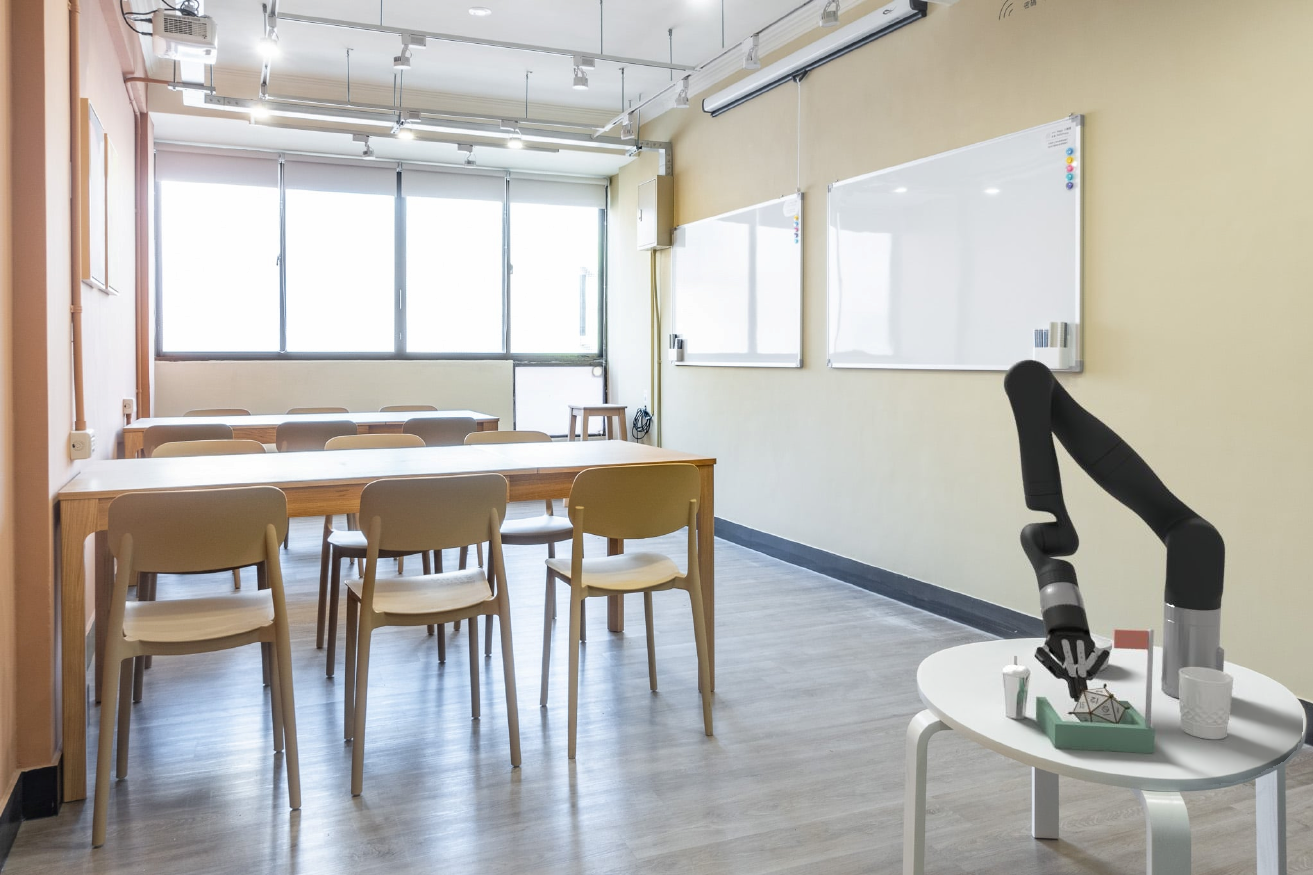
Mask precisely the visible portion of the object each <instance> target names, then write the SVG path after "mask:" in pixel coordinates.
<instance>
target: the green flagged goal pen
mask: <svg viewBox="0 0 1313 875" xmlns="http://www.w3.org/2000/svg"><path fill="white" fill-rule="evenodd" d="M1154 631H1155V630H1154V629H1152V628H1148V629H1147V630H1146V629H1145V630H1141V629H1139V630H1138V629H1115V628H1114V630H1113V649H1124V650H1125V649H1126V650H1146V651H1147V654H1146V681H1145V682H1146V683H1145V684H1146V685H1145V716H1144V717H1143V715H1142V714H1141V713H1140V712H1139V711H1137V709H1136V708H1135V707H1134V706H1133V705H1132V703H1130V702H1129V701H1128V700H1118V701H1119V702H1120V703H1121V704H1122V705H1123V706H1124V707H1126V706H1127V707H1131V708H1130V709H1128V710H1127V709H1125V711H1124V713H1123V715H1122V717H1121V719H1120V721H1119V724H1111V723H1092V722H1081V721H1072V720H1071V721H1070V720H1062V718H1061V716H1060V715H1059V714H1058V712H1057V711H1056V710H1055V709H1054V707H1053V706H1052V704H1051V702H1050V701H1049V700H1048V698H1047V697H1046V696H1036V698H1035V700H1036V701H1035V720H1036V721H1037V723H1038V725H1039V726H1040V727H1041V729H1042V730H1043V732H1044V733H1045V735H1046V737H1047V738H1048V740H1049V741H1050V743H1051V744H1052V746H1053V747H1054V748H1055V749H1070V750H1071V749H1072V750H1088V751H1102V752H1118V753H1120V752H1121V753H1138V754H1139V753H1140V754H1152V755H1153V754H1155V731H1156V730H1155V728H1154V727H1153V725H1151V724H1152V698H1153V696H1152V695H1153V694H1152V692H1153V671H1154V670H1153V665H1154V637H1155V635H1154V634H1155V633H1154Z"/></svg>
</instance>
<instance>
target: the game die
mask: <svg viewBox="0 0 1313 875" xmlns="http://www.w3.org/2000/svg"><path fill="white" fill-rule="evenodd" d="M1080 689H1081V690H1082V693H1081V695H1078V697H1079V700H1078V702H1076V704H1075V706H1074V708H1073V711H1068V712H1067V713H1066V714H1068V715H1070V716H1071V715H1074V717H1076V718H1077V719H1078V720H1079V722H1092V723H1111V724H1119V721H1120V719H1121V717H1122V715H1123V713H1124V711H1125V709H1127V710H1128V709H1130V708H1131V707H1127V706H1126V707H1124V706H1123V705H1122V704H1121V703H1120V702H1119V701H1120V700H1118V699H1117V698H1116V697H1115V696H1114V694H1113V693H1112V692H1110V691H1109V690H1108V689H1107V683H1106V682H1105V683H1104V684H1103V685H1102V687H1099V688H1098V687H1096V688H1090V689H1089V688H1088V690H1084V688H1083V687H1081V686H1080Z"/></svg>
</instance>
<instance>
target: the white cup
mask: <svg viewBox="0 0 1313 875" xmlns="http://www.w3.org/2000/svg"><path fill="white" fill-rule="evenodd" d="M1233 686H1234V676H1232V675H1231V674H1229V673H1227V672H1224V671H1223V672H1222V671H1218V670H1214V669H1209V668H1202V667H1185V668H1181V669H1180V670H1179V698H1178V700H1179V702H1178V703H1179V713H1180V729H1181V730H1182V731H1183V732H1184V733H1186V734H1188V735H1189V736H1193V737H1195V738H1201V739H1206V740H1222V739H1225V738H1227V736H1228V728H1229V726H1228V725H1229V721H1230V717H1231V716H1230V715H1231V707H1232V699H1233V698H1232V697H1233V689H1234V688H1233Z"/></svg>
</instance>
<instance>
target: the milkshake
mask: <svg viewBox="0 0 1313 875" xmlns="http://www.w3.org/2000/svg"><path fill="white" fill-rule="evenodd" d="M1013 657H1014V658H1013V664H1009V665H1006V666H1005V667H1003V669H1002V677H1003V678H1002V679H1003V680H1002V681H1003V688H1004V701H1005V702H1004V704H1005V715H1006V717H1008V718H1010V719H1014V720H1022V719H1026V712H1027V701H1028V692H1029V686H1030V678H1031V671H1030V669H1029V668H1028V667H1026V666H1023V665H1018V656H1017V655H1014V656H1013Z"/></svg>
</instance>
